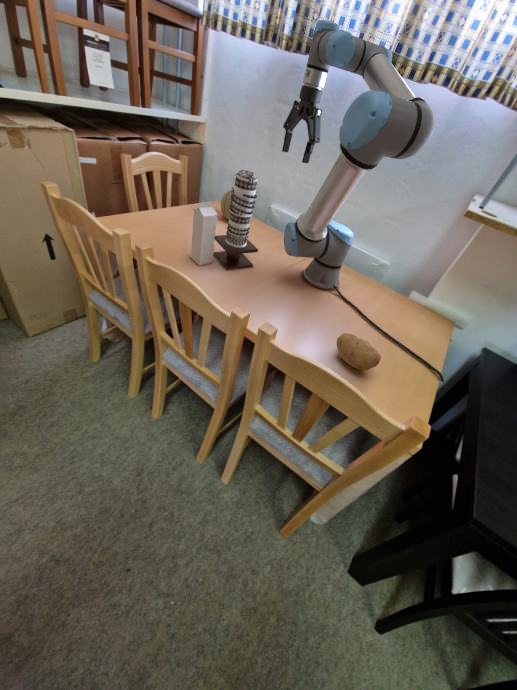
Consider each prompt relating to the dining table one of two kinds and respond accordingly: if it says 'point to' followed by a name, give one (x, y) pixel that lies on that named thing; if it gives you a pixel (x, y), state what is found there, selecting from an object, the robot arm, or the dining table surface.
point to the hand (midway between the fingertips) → (294, 157)
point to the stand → (234, 254)
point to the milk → (203, 233)
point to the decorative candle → (241, 208)
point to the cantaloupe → (226, 204)
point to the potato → (357, 352)
